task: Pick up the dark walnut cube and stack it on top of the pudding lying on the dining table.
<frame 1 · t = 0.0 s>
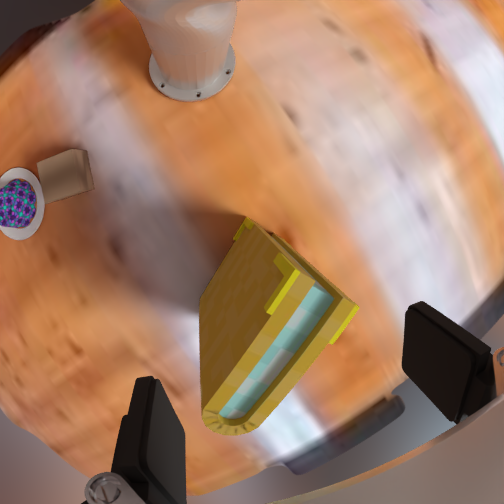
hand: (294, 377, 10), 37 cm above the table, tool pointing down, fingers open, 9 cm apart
walnut cube: (74, 175, 40), on the table
pudding: (19, 203, 39), on the table
book: (235, 274, 48), on the table
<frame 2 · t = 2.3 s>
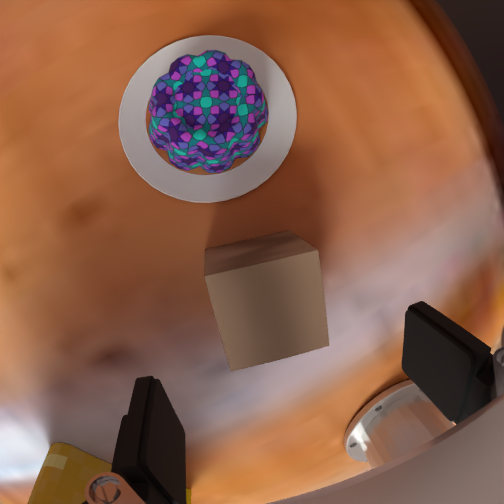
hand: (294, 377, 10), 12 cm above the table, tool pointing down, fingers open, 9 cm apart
walnut cube: (256, 279, 22), on the table
pudding: (207, 115, 19), on the table
book: (115, 476, 26), on the table
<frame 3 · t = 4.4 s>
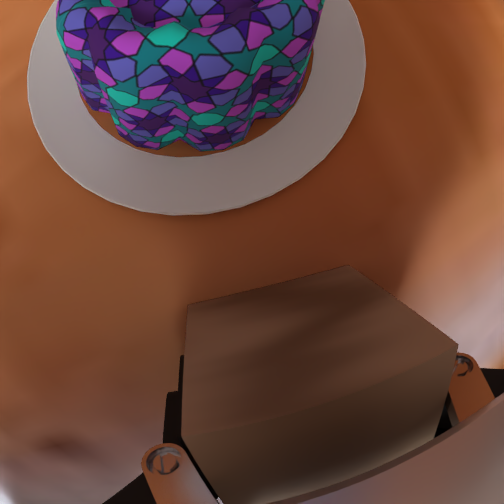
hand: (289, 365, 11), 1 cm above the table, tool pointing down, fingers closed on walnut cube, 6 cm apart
walnut cube: (283, 353, 12), on the table, touching gripper
pudding: (192, 44, 9), on the table
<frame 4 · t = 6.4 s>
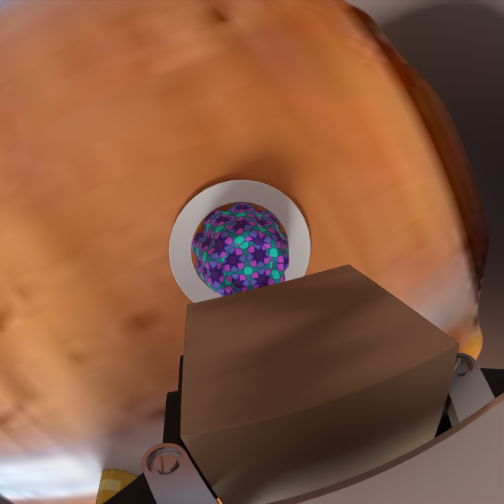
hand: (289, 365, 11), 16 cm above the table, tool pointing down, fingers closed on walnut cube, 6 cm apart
walnut cube: (283, 353, 12), point 15 cm above the table, touching gripper
pudding: (240, 250, 27), on the table
book: (156, 490, 33), on the table
when the fingers open (7 cm above the table, at t = 8.9 s): walnut cube drops 1 cm, resting on pudding.
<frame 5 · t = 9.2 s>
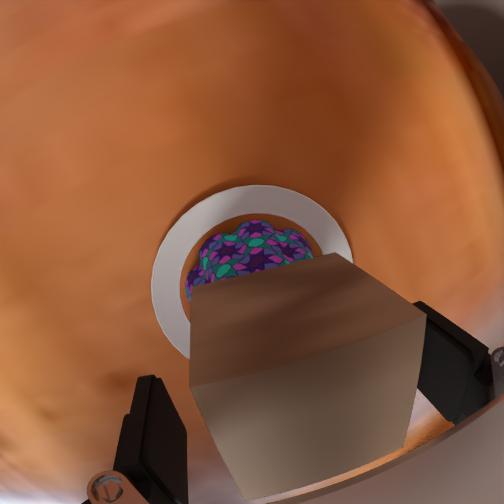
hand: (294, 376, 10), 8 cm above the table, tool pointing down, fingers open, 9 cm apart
walnut cube: (277, 332, 13), point 5 cm above the table, touching pudding
pudding: (255, 286, 18), on the table, touching walnut cube
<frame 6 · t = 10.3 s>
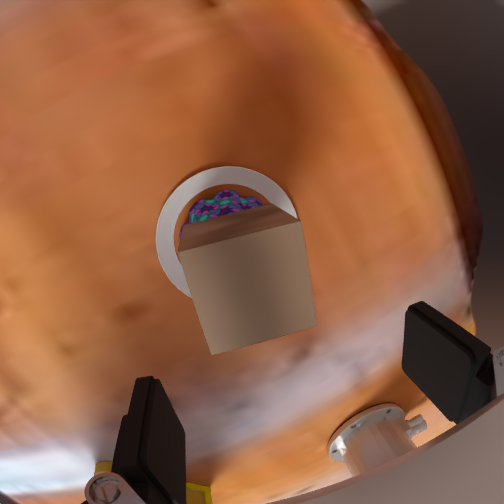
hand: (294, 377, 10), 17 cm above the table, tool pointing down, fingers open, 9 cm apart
walnut cube: (238, 256, 21), point 5 cm above the table, touching pudding
pudding: (227, 237, 26), on the table, touching walnut cube
book: (150, 482, 34), on the table
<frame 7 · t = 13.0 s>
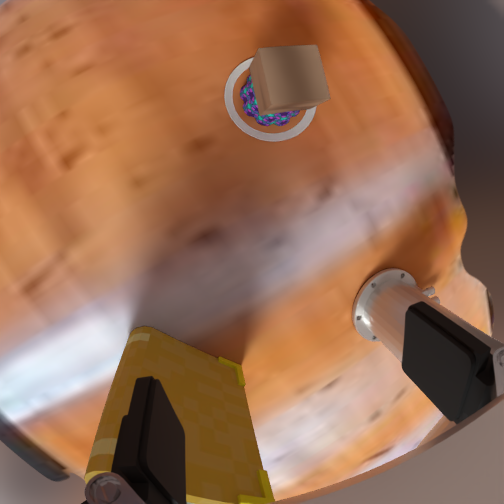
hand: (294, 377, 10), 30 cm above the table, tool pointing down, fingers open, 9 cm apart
walnut cube: (280, 87, 31), point 5 cm above the table, touching pudding
pudding: (270, 98, 36), on the table, touching walnut cube
book: (181, 358, 43), on the table
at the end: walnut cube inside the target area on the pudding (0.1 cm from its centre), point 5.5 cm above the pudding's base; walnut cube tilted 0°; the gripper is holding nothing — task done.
